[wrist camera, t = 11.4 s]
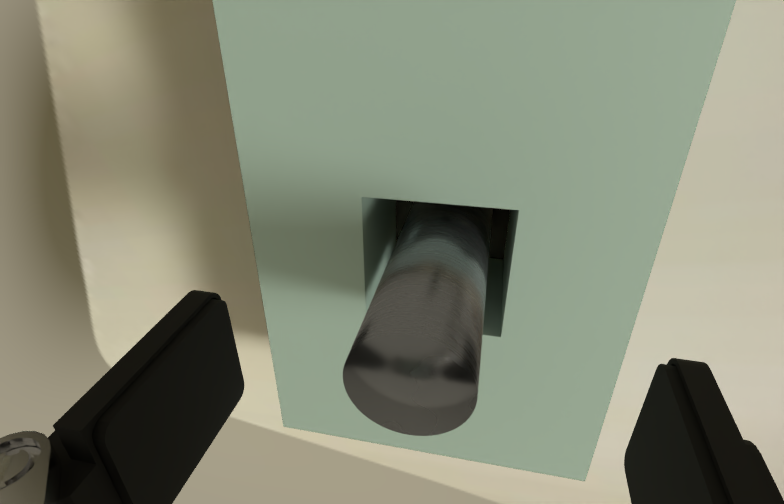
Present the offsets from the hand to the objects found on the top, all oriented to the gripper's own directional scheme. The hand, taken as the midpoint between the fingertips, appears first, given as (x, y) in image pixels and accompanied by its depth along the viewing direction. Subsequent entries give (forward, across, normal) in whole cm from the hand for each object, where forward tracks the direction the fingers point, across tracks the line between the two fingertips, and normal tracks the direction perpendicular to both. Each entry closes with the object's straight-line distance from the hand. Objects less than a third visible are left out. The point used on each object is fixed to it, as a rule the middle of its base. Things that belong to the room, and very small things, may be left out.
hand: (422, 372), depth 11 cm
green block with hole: (+10, 0, 0) cm, 10 cm away
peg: (+10, 0, 0) cm, 10 cm away
